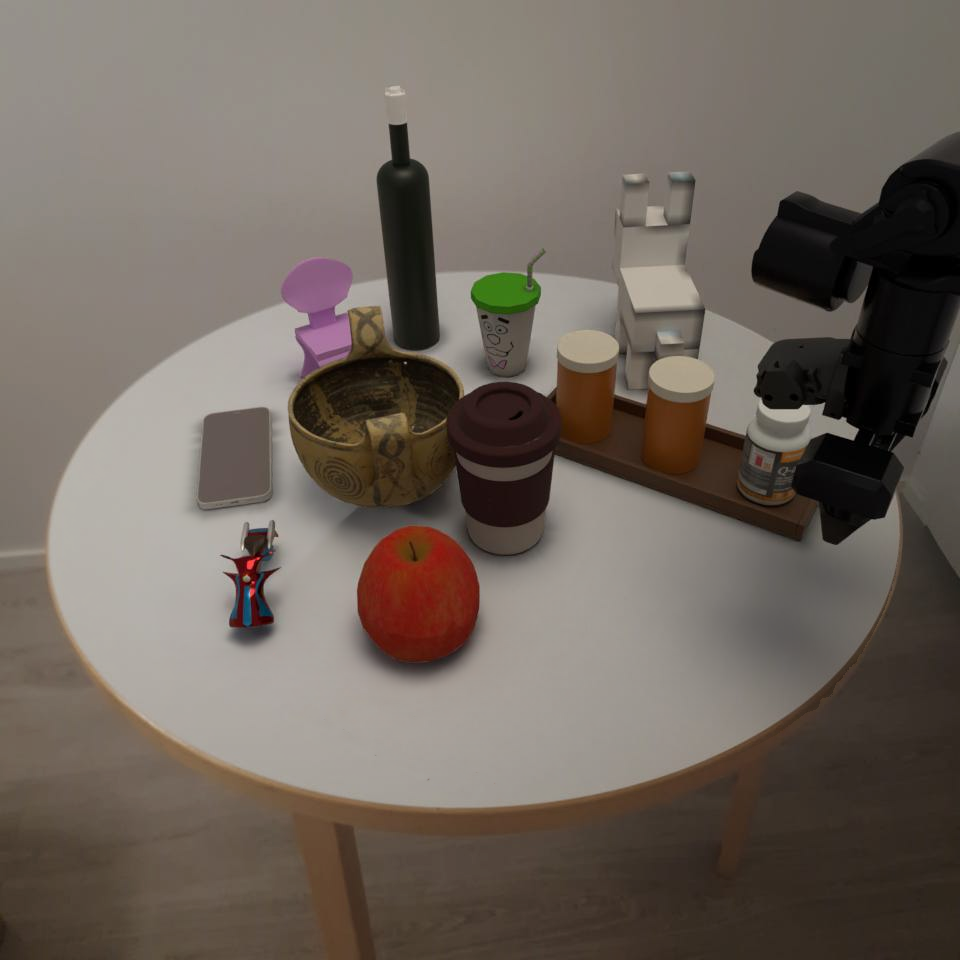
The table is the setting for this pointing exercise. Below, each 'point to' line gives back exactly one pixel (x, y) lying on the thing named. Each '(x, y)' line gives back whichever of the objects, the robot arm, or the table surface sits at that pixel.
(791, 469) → the pill bottle
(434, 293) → the wine bottle
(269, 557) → the hoverbike
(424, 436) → the ceramic bowl
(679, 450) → the amber bottle middle
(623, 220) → the toy llama
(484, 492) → the coffee cup
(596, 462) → the tray
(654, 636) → the table surface
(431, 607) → the apple
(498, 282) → the cup
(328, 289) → the toy chair
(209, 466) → the smartphone
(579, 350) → the amber bottle far
